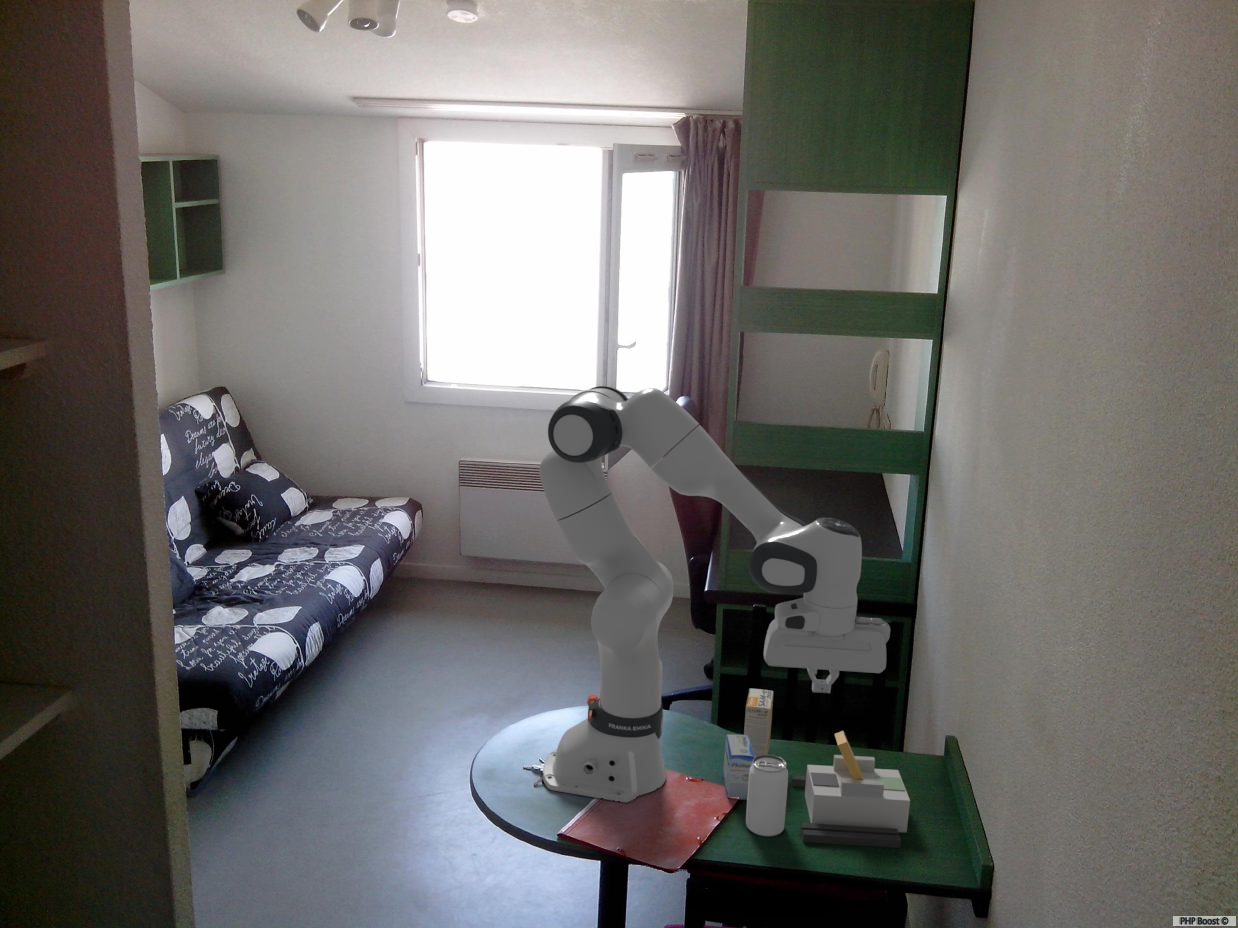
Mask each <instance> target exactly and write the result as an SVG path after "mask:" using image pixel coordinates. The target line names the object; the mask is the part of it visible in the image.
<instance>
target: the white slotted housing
mask: <svg viewBox="0 0 1238 928" xmlns="http://www.w3.org/2000/svg"><path fill="white" fill-rule="evenodd" d="M854 756H855V759H856V761H857V763H858V766H859V767H860V770H861V773H862V776H863V779H864V780H853V778H852V776H851V774H850V772H849V769H848V767H847V765H846V763H845V760H844V758H843V756H842V754H833V765H820V764H807V765H806V775H805V776H806V785H805V787H804V797H805V804H806V807H807V813H808V816H809V821H810V822H809V823H813V824H829V825H845V826H861V827H877V828H893V829H897V830H898V833H907V832H908V824H909V823H908V822H909V817H910V816H909V815H910V807H911V799H910V797H909V794H908V791H907V789H906V786H905V784H904V782H903V779H902V776H901V773H900V771H899V770H898V769H888V768H887V769H885V768H875V767H876V759H875V757H874V756H861V755H860V756H859V755H854Z"/></svg>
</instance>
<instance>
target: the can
mask: <svg viewBox="0 0 1238 928" xmlns="http://www.w3.org/2000/svg"><path fill="white" fill-rule="evenodd" d="M787 765H788V764H787V762H786V761H785V759H783V758H782V757H780V756H777V755H774V754H768V755H759V756H757V757H755V758H754V759H753V764H752V765H751V767H750V772H749V784H748V798H747V800H746V814H745V826H746V827H747V829H748V830H749V831H750V832H752V833H753V834H755V835H756V836H759V837H764V838H767V837H769V838H771V837H776V836H778V835H780V834H781V833H783V831H784V829H785V821H786V820H785V819H786V811H787V810H786V809H787V808H786V807H787V798H788V784H789V772H788V769H787Z"/></svg>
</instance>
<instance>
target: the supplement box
mask: <svg viewBox="0 0 1238 928" xmlns="http://www.w3.org/2000/svg"><path fill="white" fill-rule="evenodd" d="M773 702H774V691H773V690H770V689H769V690H768V689H761V688H749V689H748V694H747V700H746V705H745V716H744V729H743V735H748V736H750V741H751V745H752V749H753V753H754V756H755V757H757V756H759V755H769V750H770V742H771V733H772V732H771V731H772V720H773V709H774V707H773V704H774V703H773Z"/></svg>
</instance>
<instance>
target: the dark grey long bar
mask: <svg viewBox="0 0 1238 928" xmlns="http://www.w3.org/2000/svg"><path fill="white" fill-rule="evenodd" d="M790 784H791V786H792V787H801V788H803V787H804V788H805V785H806V775H798V774H797V775H796V774H792V775H791V778H790Z"/></svg>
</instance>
